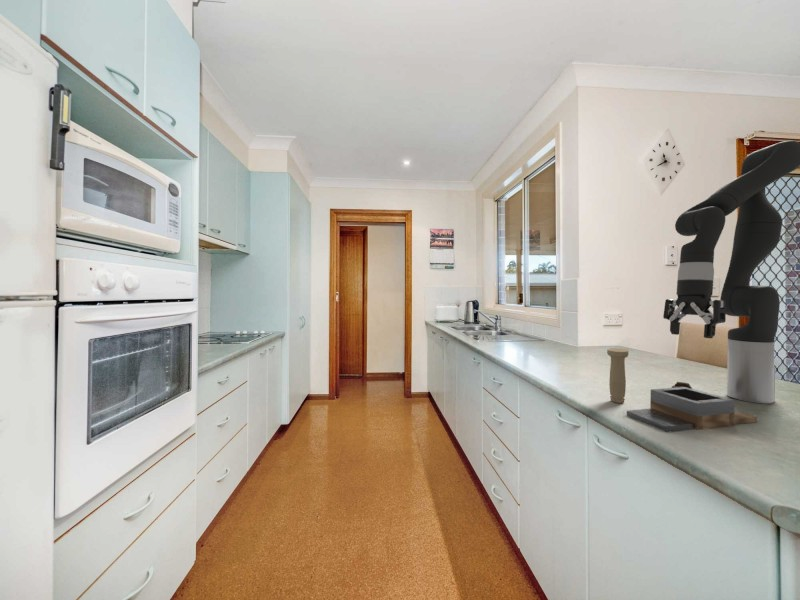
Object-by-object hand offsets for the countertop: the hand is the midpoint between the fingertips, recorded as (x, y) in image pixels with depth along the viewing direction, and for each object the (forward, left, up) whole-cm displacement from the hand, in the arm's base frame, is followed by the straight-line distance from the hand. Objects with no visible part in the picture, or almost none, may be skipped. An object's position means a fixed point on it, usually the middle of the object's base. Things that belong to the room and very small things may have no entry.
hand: (690, 336), depth 90 cm
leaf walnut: (+9, +9, -19) cm, 23 cm away
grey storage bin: (+17, +9, -19) cm, 27 cm away
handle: (+20, -5, -19) cm, 28 cm away
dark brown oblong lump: (-1, -3, -19) cm, 20 cm away
